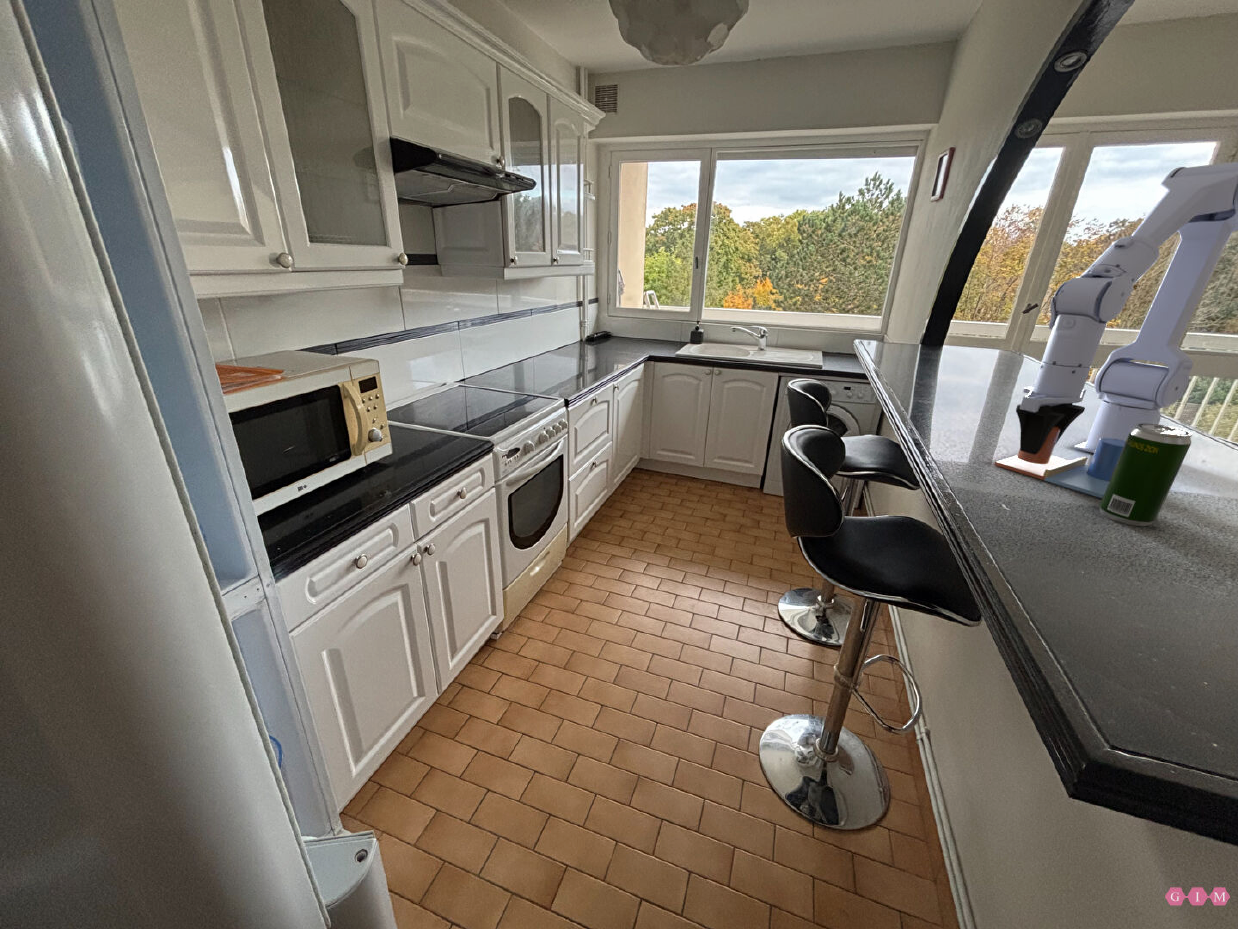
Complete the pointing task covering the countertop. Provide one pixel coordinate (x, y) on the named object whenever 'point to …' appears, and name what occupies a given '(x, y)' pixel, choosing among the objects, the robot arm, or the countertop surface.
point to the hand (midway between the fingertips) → (1036, 450)
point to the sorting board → (1059, 473)
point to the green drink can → (1144, 473)
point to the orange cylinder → (1042, 449)
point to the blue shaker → (1105, 458)
